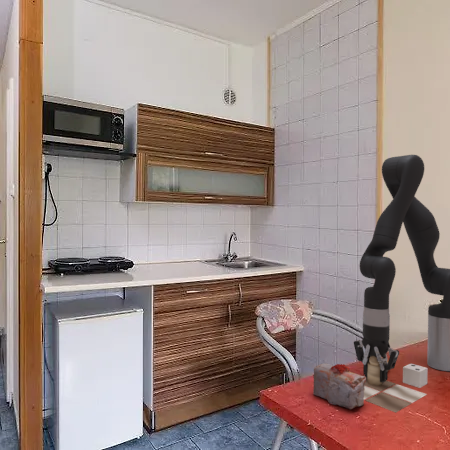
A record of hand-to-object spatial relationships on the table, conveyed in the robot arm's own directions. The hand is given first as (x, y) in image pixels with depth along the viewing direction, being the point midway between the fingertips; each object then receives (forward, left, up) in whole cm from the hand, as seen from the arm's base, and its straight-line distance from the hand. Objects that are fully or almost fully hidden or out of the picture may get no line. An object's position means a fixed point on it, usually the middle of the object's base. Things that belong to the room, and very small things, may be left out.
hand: (375, 379), depth 118 cm
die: (-10, +8, -1) cm, 12 cm away
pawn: (0, 0, -1) cm, 1 cm away
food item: (+19, 0, -2) cm, 19 cm away
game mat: (+4, +5, -1) cm, 6 cm away
